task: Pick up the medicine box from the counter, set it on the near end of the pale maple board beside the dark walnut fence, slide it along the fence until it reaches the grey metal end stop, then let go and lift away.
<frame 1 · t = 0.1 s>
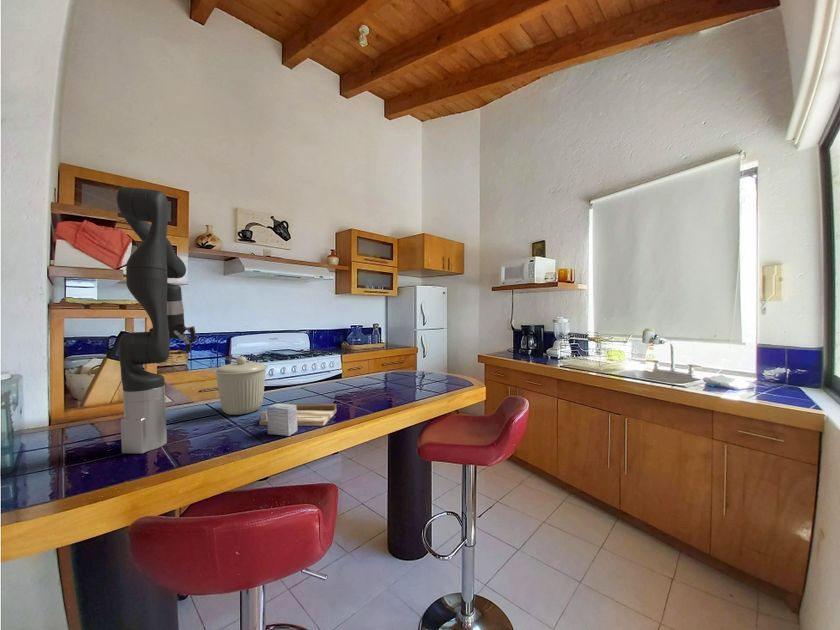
hand: (174, 353, 126), 22 cm above the counter, tool pointing down, fingers open, 8 cm apart
maple board: (300, 418, 116), on the counter
medicine box: (282, 433, 103), on the counter
canister: (242, 411, 126), on the counter
walnut fence: (306, 406, 122), on the maple board, point 2 cm above the counter
end stop: (271, 411, 116), on the maple board, point 2 cm above the counter
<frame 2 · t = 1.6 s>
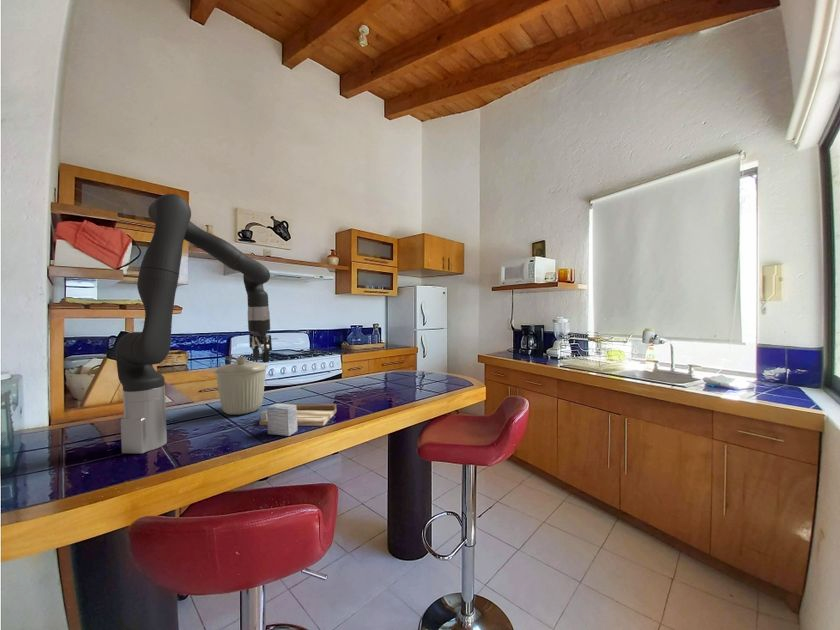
hand: (261, 360, 125), 19 cm above the counter, tool pointing down, fingers open, 8 cm apart
nothing on the counter moved.
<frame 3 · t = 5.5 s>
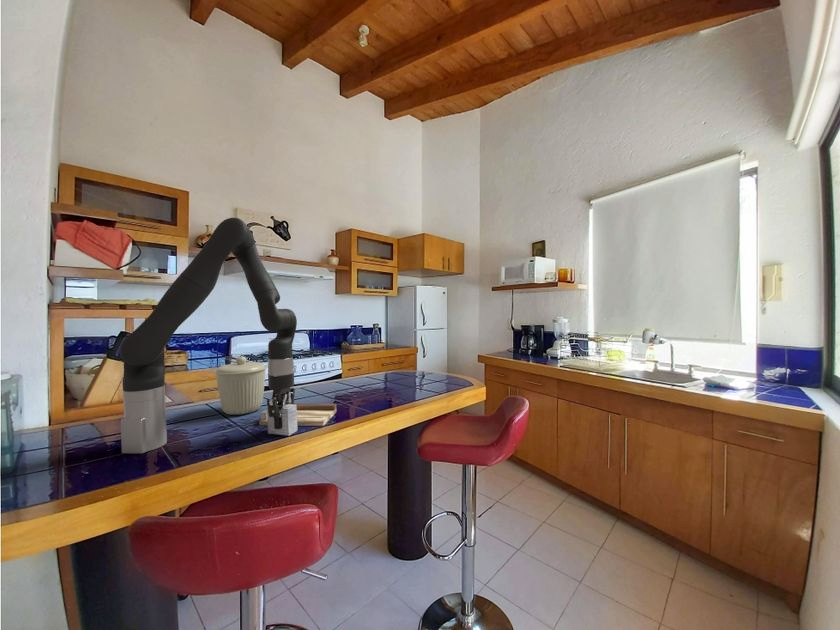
hand: (282, 425, 103), 2 cm above the counter, tool pointing down, fingers closed on medicine box, 5 cm apart
medicine box: (282, 433, 103), on the counter, touching gripper
everything else where it was.
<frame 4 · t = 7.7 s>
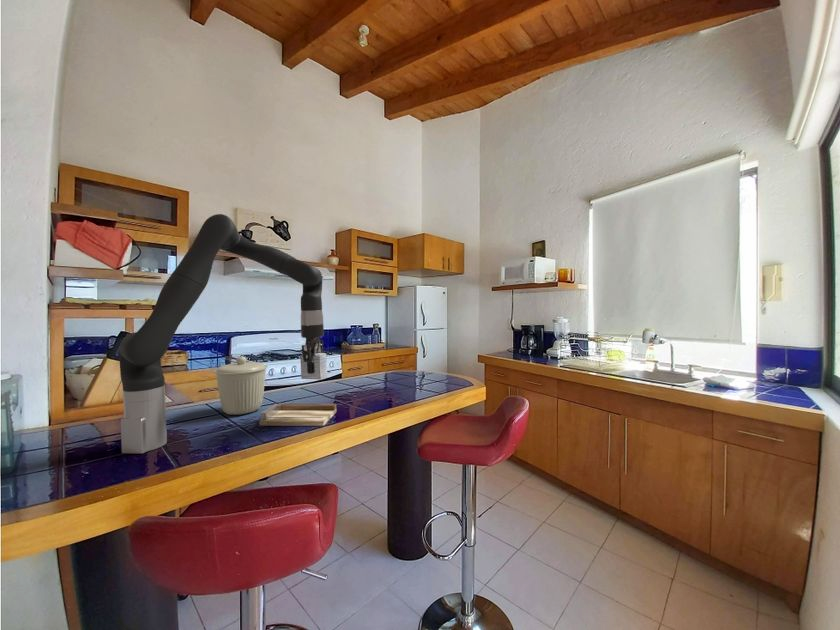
hand: (314, 371, 115), 17 cm above the counter, tool pointing down, fingers closed on medicine box, 5 cm apart
medicine box: (314, 378, 115), point 14 cm above the counter, touching gripper
everything else where it was.
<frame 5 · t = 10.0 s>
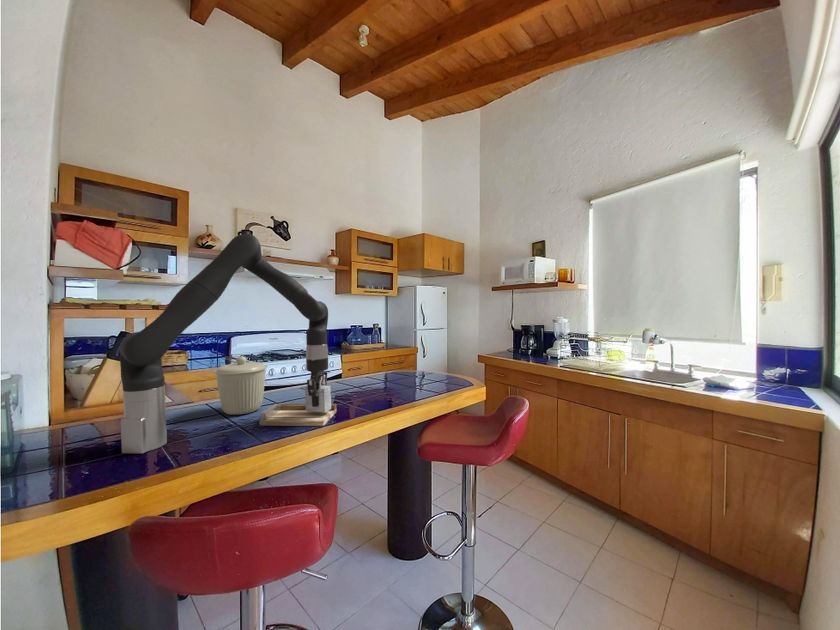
hand: (318, 403, 117), 5 cm above the counter, tool pointing down, fingers closed on medicine box, 5 cm apart
medicine box: (318, 411, 117), point 2 cm above the counter, touching gripper
everything else where it was.
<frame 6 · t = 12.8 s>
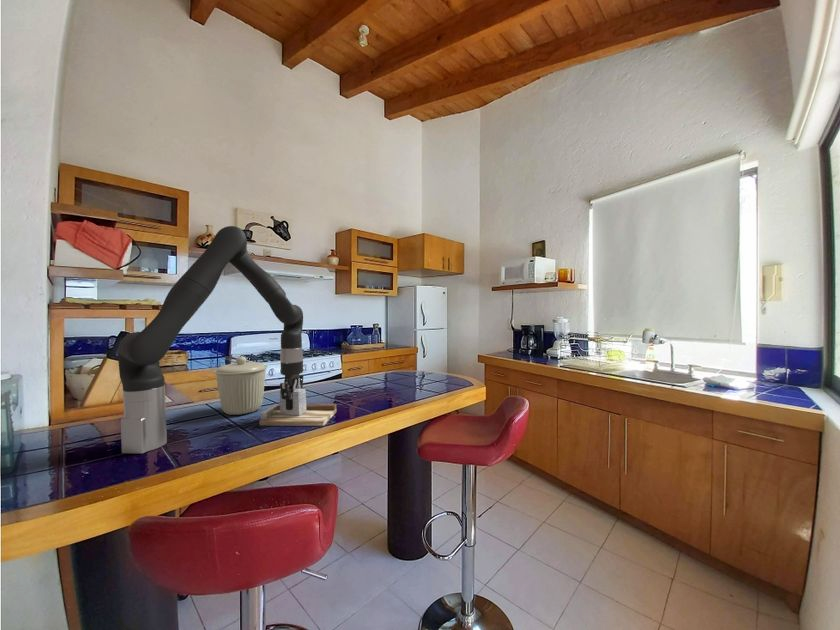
hand: (292, 407, 117), 4 cm above the counter, tool pointing down, fingers closed on medicine box, 5 cm apart
medicine box: (293, 414, 117), point 1 cm above the counter, touching gripper
everything else where it was.
when the fingers open (4 cm above the counter, at t = 14.7 s): medicine box stays where it is, resting on maple board.
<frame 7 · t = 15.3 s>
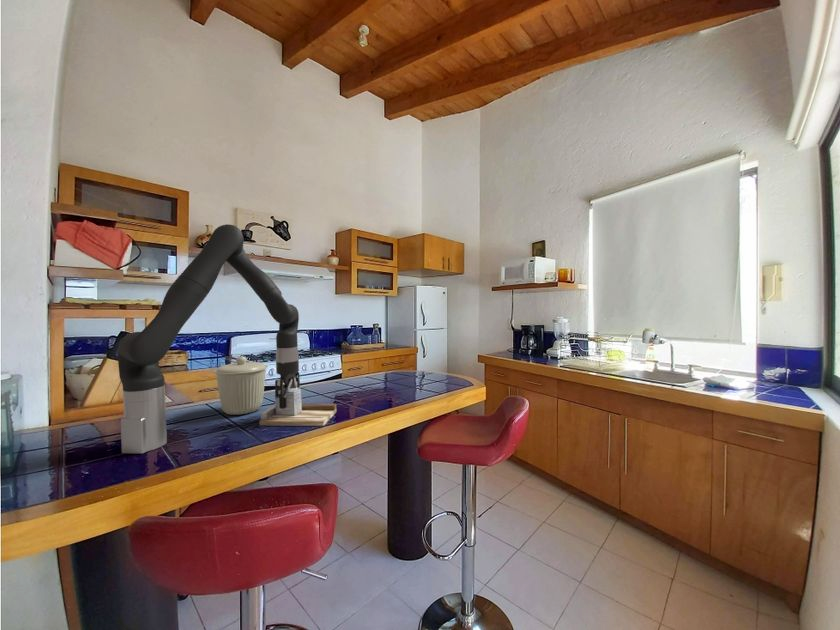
hand: (288, 404, 117), 5 cm above the counter, tool pointing down, fingers open, 8 cm apart
medicine box: (288, 413, 117), point 1 cm above the counter, touching maple board
everything else where it was.
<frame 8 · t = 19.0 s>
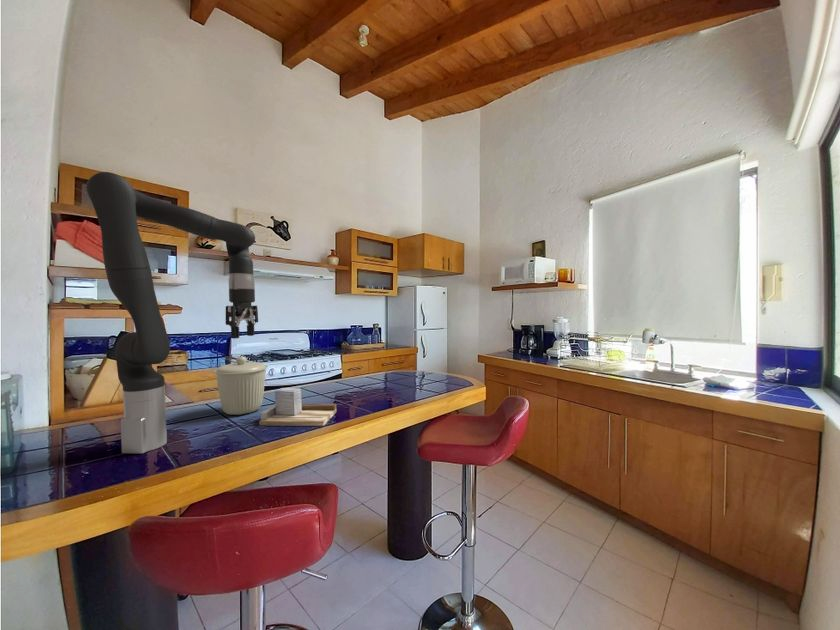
hand: (243, 336, 108), 30 cm above the counter, tool pointing down, fingers open, 8 cm apart
nothing on the counter moved.
at the end: medicine box 0.1 cm from the target spot, point 1.3 cm above the counter; medicine box tilted 0°; the gripper is holding nothing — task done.
